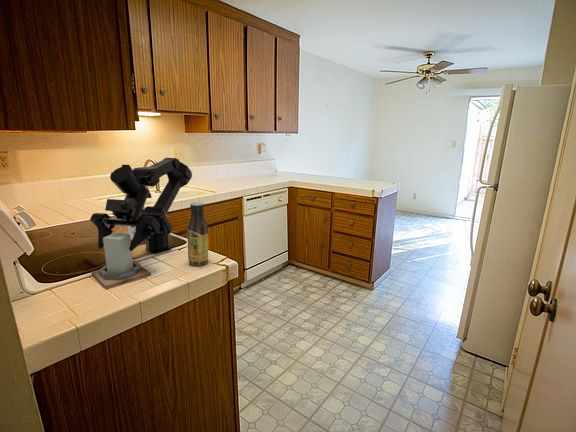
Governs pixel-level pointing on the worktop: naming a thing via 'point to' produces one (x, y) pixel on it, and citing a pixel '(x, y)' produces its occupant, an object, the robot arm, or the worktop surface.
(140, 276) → the seat board
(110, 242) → the sage block
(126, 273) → the seat ring
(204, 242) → the sauce bottle
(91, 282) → the worktop surface
